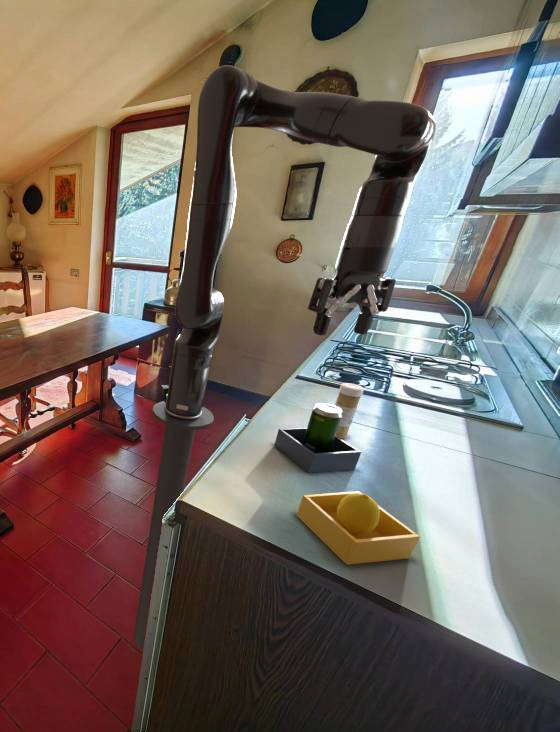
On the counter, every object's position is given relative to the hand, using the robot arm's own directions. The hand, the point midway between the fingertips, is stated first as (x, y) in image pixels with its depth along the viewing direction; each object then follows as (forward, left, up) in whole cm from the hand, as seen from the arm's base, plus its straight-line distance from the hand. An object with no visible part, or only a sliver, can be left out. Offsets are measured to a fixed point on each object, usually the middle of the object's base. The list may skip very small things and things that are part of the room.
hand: (339, 334), depth 74 cm
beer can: (-3, +6, -30) cm, 30 cm away
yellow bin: (+20, -6, -30) cm, 37 cm away
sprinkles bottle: (-12, +20, -30) cm, 38 cm away
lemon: (+20, -6, -30) cm, 36 cm away
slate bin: (-3, +6, -30) cm, 31 cm away
